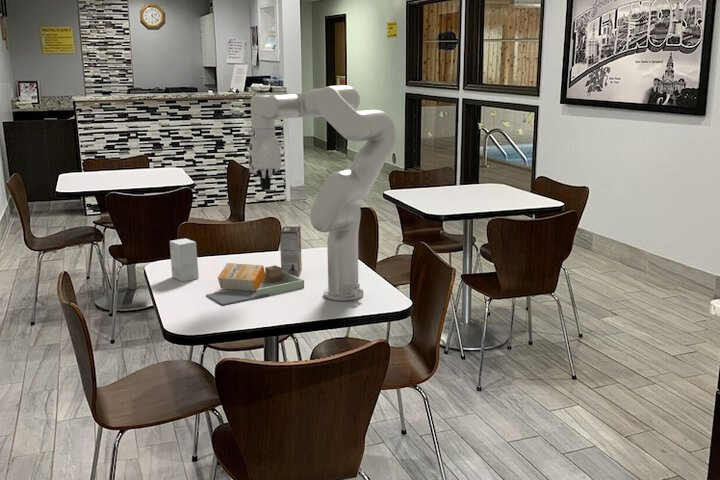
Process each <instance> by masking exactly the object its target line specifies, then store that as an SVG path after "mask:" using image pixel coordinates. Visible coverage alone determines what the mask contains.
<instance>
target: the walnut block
mask: <svg viewBox="0 0 720 480" xmlns="http://www.w3.org/2000/svg"><path fill="white" fill-rule="evenodd" d="M264 271H265V275H266V281H265V283H267V284H268V283H269V284H270V285H275V284H278V283H280V284H281V283H283V279H282V270H281V266H278V265H271V266H264Z"/></svg>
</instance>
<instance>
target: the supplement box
mask: <svg viewBox="0 0 720 480" xmlns="http://www.w3.org/2000/svg"><path fill="white" fill-rule="evenodd" d="M265 276H266V275H265V266H264V265H261V264H247V263H233V262H227V263H226V264H225V265H224V267H223V269H222V270H221V272H220V273H219V275H218V277H217V280H218V284H219V288H220V289H223V290H224V289H225V290H232V289H234V290H246V291H256V289H260V287H261V285H262V283H263V282H264V281H263V280H264V278H265Z"/></svg>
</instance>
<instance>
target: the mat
mask: <svg viewBox="0 0 720 480" xmlns="http://www.w3.org/2000/svg"><path fill="white" fill-rule="evenodd" d="M205 296H206V297H207V298H209V299H210V300H212V301H214V302H215V303H217V304H219V305H220V306H227V305H232V304H236V303H237V304H238V303H243V302H248V301H251V300H252V301H253V300H257V299H260V298H265V297H269V296H270V295H269V294H264V295H259V296H257V293H256V291H246V290H234V289H226V290H223V291H217V292H212V293H209V294H205Z"/></svg>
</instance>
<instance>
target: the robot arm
mask: <svg viewBox="0 0 720 480" xmlns="http://www.w3.org/2000/svg"><path fill="white" fill-rule="evenodd" d="M360 103H361V97H360V94H359V92H358V91H357V90H356V88H354V87H352V86H350V85H329V86H324V87H322V88H312V89H310V90H309V91H308V92H303V93H294V94H291V93H290V94H287V93H286V94H275V95H274V94H273V95H266V94H262V95H261V94H260V95H259V94H257V95H253V96H252V97H251V98H250V118H251V119H250V121H251V129H250V130H249V131H248V136H251V138H250V141H249V146H248V166H249V173H251V174H256V175H257V176H258V178H259V181H260V182H259V183H260V188H261V190H262V191H270V190H271V187H272V182H271V178H272V177H273V175H274V174H275V173H276V172H278V171H280V170H281V167H282V153H281V147H280V146H281V145H280V142H279V139H278V137H276V128H275V127H276V124H275V123H276V122H275V121H276V120H283V119H285V120H286V119H295V118H307V117H312V118H322V117H323V118H324V119H325V120H326V121H327V122H328V124H330V125H331V126H332V127H333V129H334V130H336V131H337V133H339V134H340V135H341V136H342V137H343V138H344V139H346V140H348V141H350V142H352V143H353V142H355V143H356V142H357V143H359V142H364V141H365V143H364V144H363V145H362V147H361V148H360V149H359V150H358V151H357V153H356V154H355V157H354V159H353V161H352V163H351V164H350V165H349V167H348V168H347V169H344V170H343V169H342V170H339V171H335V172H333V173H330V175H329V176H328V177H327V178H326V179H325V180H324V182H323V184H322V186H321V187H320V189H319V192H318V194H317V196H316V198H315V199H314V202H313V204H312V206H311V209H310V213H309V220H310V224H311V225H312V227H313V228H314V230H316V231H318V232H321V233H328V234H327V283H328V288H326V289H325V290H324V291H323V297H324V298H325V299H327V300H331V301H337V302H344V301H345V302H347V301H354V300H358V299H360V298H362V297H363V296H364V290H363V289H362V288H361V287H360V283H359V229H360V222H361V216H362V215H361V214H362V211H361V207H360V203H359V202H358V201H359V200H361V199H364V198H366V197H367V196H368V194H369V193H370V191H371V189H372V188H373V185H375V182H376V180H377V178H378V176H379V174H380V173H381V170H382V169H383V167H384V165H385V164H386V162H387V160H388V158H390V157H389V156H390V155H391V153H392V151H393V149H394V147H395V144H396V143H395V142H396V136H397V134H396V133H397V131H396V126H395V124H394V121H393V119H392V117H391V116H390V115H389V114H388V113H387V112H385V111H382V110H378V109H368V110H367V109H366V110H357V109H358V108H359V105H360Z"/></svg>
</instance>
